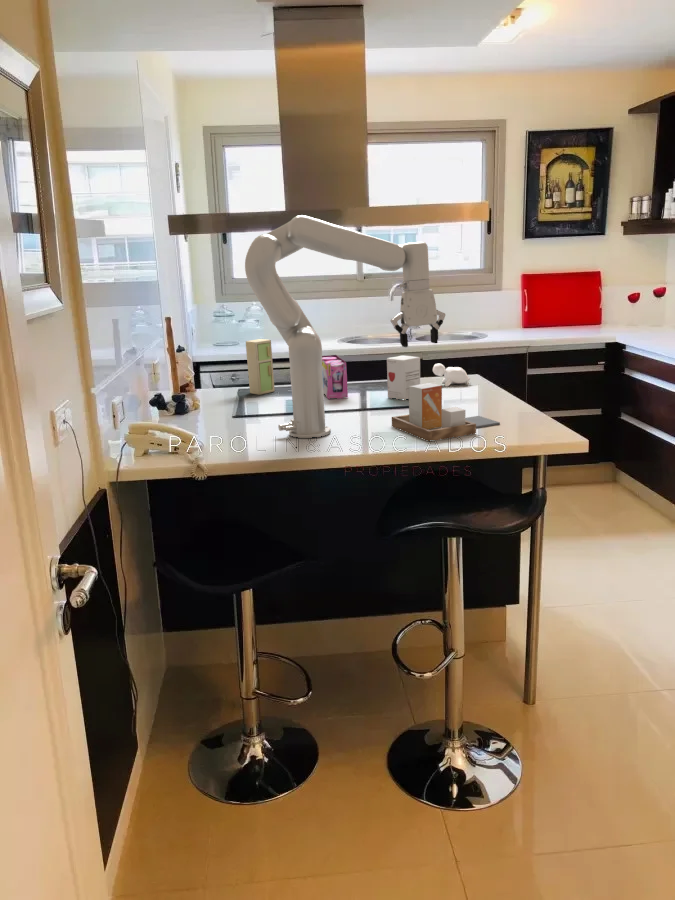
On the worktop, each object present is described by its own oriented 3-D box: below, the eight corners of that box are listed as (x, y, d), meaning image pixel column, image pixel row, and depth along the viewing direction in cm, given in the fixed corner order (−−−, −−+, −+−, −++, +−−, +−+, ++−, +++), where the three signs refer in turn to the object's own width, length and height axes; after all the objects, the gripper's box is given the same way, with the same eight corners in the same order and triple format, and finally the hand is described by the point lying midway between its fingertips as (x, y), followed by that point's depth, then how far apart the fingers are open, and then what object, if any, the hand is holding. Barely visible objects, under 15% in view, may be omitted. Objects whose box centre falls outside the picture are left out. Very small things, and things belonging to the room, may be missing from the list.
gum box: (349, 398, 263) (347, 362, 259) (328, 400, 261) (326, 364, 258) (338, 387, 285) (336, 354, 282) (319, 389, 284) (317, 355, 281)
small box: (422, 431, 209) (421, 388, 206) (408, 427, 215) (408, 385, 211) (442, 427, 214) (442, 384, 210) (429, 423, 219) (428, 382, 215)
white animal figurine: (461, 389, 286) (427, 377, 284) (469, 369, 284) (434, 357, 282) (465, 393, 278) (430, 381, 276) (473, 373, 275) (438, 360, 274)
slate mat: (469, 429, 209) (469, 427, 209) (449, 422, 219) (449, 420, 219) (499, 424, 214) (499, 422, 213) (478, 417, 223) (478, 415, 223)
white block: (450, 435, 203) (450, 412, 202) (441, 432, 208) (441, 409, 206) (465, 433, 205) (465, 409, 203) (455, 429, 210) (455, 406, 208)
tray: (428, 441, 198) (428, 431, 197) (391, 426, 217) (391, 416, 216) (476, 433, 204) (476, 423, 203) (436, 419, 223) (435, 410, 223)
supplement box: (386, 398, 260) (385, 358, 256) (403, 394, 266) (402, 354, 262) (404, 401, 253) (404, 359, 249) (421, 396, 259) (420, 356, 255)
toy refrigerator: (260, 395, 277) (256, 342, 271) (249, 393, 282) (245, 341, 276) (276, 392, 282) (272, 339, 276) (265, 390, 287) (261, 338, 282)
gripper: (394, 289, 198) (398, 349, 203) (449, 283, 203) (451, 342, 208) (384, 288, 205) (388, 347, 210) (437, 283, 210) (440, 340, 215)
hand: (419, 344), depth 209 cm, fingers open, 9 cm apart
